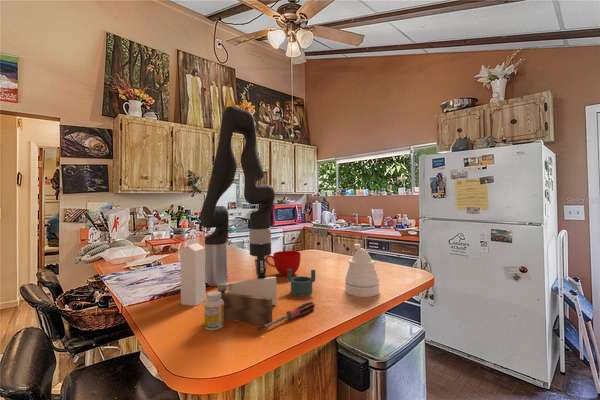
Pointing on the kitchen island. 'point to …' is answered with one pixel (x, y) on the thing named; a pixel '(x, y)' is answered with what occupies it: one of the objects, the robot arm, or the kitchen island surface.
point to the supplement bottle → (214, 311)
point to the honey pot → (361, 275)
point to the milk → (192, 273)
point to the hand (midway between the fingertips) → (261, 290)
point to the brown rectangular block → (247, 308)
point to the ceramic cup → (285, 261)
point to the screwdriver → (292, 313)
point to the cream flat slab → (252, 288)
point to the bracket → (301, 284)
